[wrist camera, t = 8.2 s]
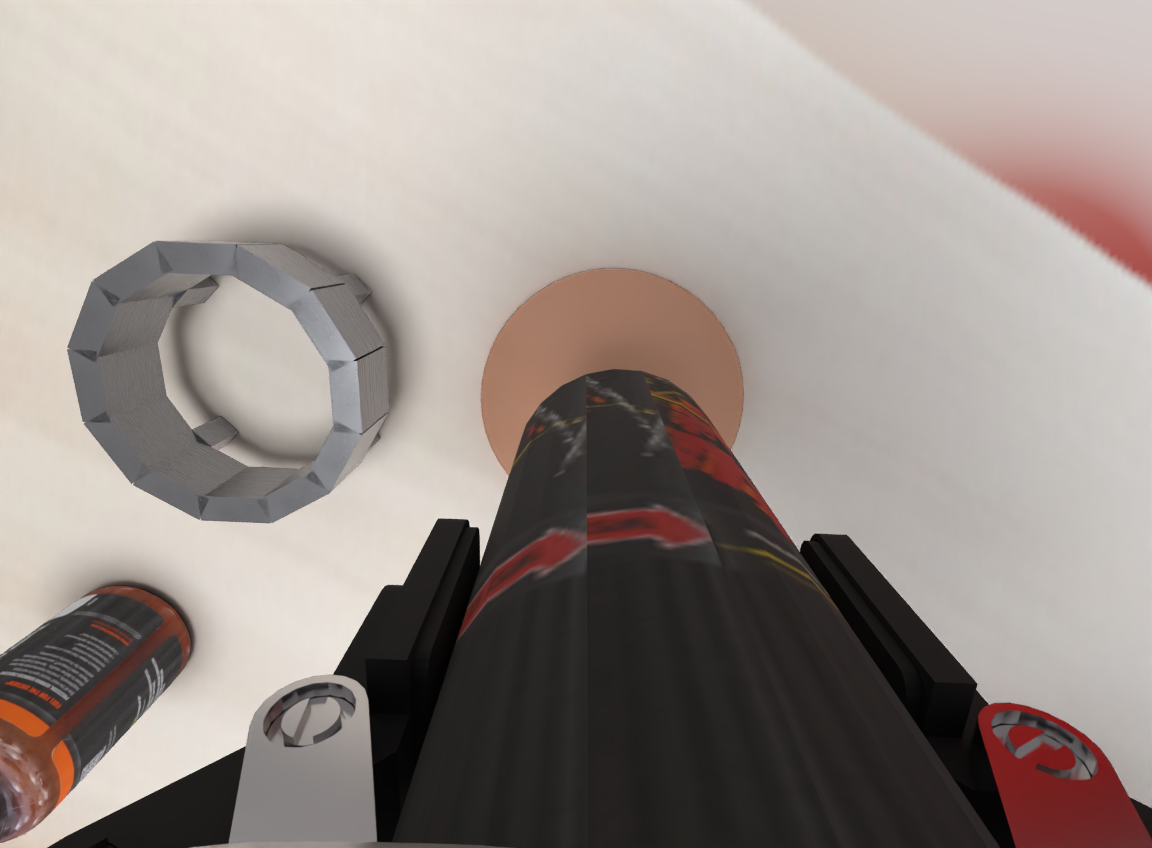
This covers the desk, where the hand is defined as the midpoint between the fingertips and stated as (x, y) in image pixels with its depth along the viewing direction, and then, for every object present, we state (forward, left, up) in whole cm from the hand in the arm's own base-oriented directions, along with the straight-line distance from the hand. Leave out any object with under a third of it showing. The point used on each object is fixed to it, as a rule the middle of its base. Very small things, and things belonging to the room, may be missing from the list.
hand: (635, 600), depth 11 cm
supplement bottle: (+23, +13, -15) cm, 31 cm away
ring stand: (+14, -1, -15) cm, 21 cm away
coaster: (0, 0, -15) cm, 15 cm away
